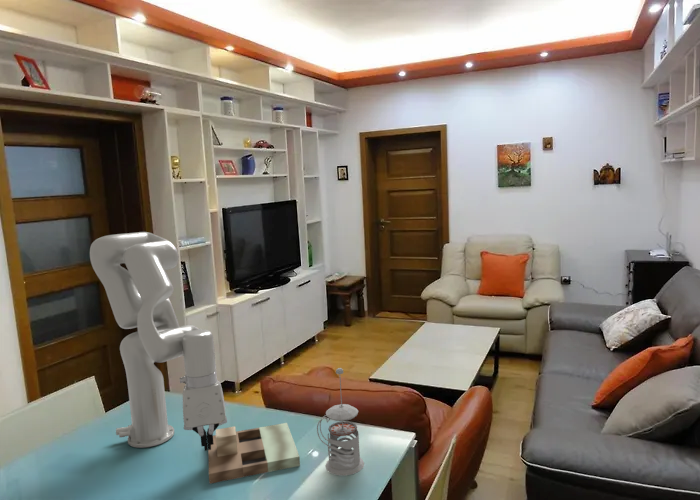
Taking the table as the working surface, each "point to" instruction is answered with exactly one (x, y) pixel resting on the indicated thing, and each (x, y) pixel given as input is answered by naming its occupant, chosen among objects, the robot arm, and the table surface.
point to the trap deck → (255, 453)
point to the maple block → (226, 441)
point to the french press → (345, 457)
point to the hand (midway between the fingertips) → (207, 447)
